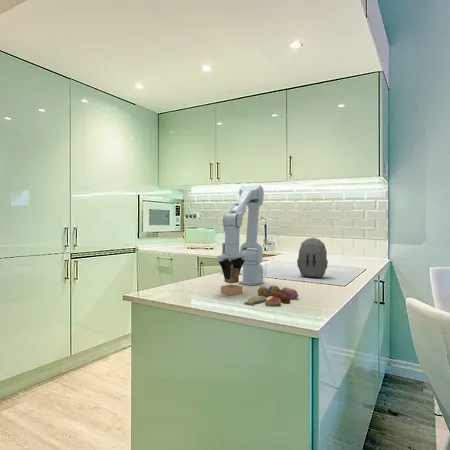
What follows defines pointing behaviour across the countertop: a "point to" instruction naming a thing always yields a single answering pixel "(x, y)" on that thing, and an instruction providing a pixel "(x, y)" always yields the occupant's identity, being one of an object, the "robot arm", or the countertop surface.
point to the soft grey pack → (312, 258)
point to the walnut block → (233, 276)
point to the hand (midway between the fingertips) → (231, 278)
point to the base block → (231, 289)
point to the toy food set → (278, 296)
